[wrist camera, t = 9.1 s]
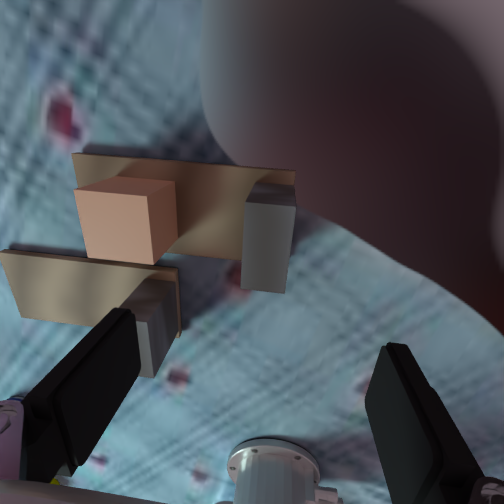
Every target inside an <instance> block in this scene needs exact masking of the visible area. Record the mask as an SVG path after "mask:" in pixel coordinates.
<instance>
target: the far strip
mask: <svg viewBox="0 0 504 504" xmlns="http://www.w3.org/2000/svg"><path fill="white" fill-rule="evenodd" d="M0 260H1V263H2V266H3V268H4V271H5V274H6V277H7V279H8V282H9V285H10V287H11V290H12V293H13V296H14V298H15V301H16V304H17V307H18V309H19V312H20V315H21V317H23V318H30V319H38V320H45V321H53V322H60V323H68V324H76V325H83V326H91V327H95V326H96V325H97V324H98V323H99V322H100V321H101V320H102V319H103V318H104V317H105V316H106V315H107V314H108V313H109V312H110V311H111V310H112V309H113V308H115V307H118V308H126V309H130V310H131V312H132V313H134V314H135V317H136V325H137V333H138V342H139V350H140V358H141V371H140V374H139V375H138V376H141V377H148V378H154V377H155V376H156V374H157V372H158V370H159V368H160V366H161V364H162V362H163V360H164V358H165V356H166V354H167V352H168V350H169V349H170V347H171V345H172V343H173V341H174V339H175V338H180V336H181V333H182V329H181V312H180V296H179V279H178V268H169V267H160V266H151V265H142V264H134V263H125V262H116V261H107V260H98V259H89V258H80V257H71V256H63V255H54V254H45V253H36V252H27V251H18V250H9V249H4V250H2V251H0Z"/></svg>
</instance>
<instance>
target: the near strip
mask: <svg viewBox="0 0 504 504" xmlns="http://www.w3.org/2000/svg"><path fill="white" fill-rule="evenodd" d="M71 154H72V159H73V164H74V169H75V174H76V179H77V184H78V188H80V187H83V186H86V185H89V184H93V183H96V182H99V181H102V180H105V179H108V178H111V177H114V176H120V177H131V178H142V179H154V180H165V181H175V193H176V211H177V228H178V239H177V240H176V241H175V242H174V244H173V245H172V246H171V247H170V248H169V249H168V250H167V251H166V253H175V254H184V255H194V256H203V257H212V258H221V259H230V260H240V261H242V268H241V287H240V289H248V290H257V291H266V292H274V293H283V294H285V288H286V280H287V273H288V265H289V258H290V250H291V243H292V235H293V228H294V220H295V213H296V199H295V189H294V182H295V174H296V171H295V170H285V169H273V168H260V167H248V166H236V165H224V164H212V163H200V162H188V161H175V160H163V159H151V158H139V157H127V156H114V155H102V154H90V153H71Z"/></svg>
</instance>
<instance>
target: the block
mask: <svg viewBox="0 0 504 504" xmlns="http://www.w3.org/2000/svg"><path fill="white" fill-rule="evenodd" d="M74 194H75V199H76V204H77V208H78V213H79V218H80V223H81V227H82V232H83V237H84V241H85V246H86V251H87V255H88V258H97V259H106V260H115V261H124V262H133V263H141V264H150V265H154V264H155V263H156V262H157V261H158V260H159V259H160V258H161V256H162V255H163V254H164V253H165V252H166V251H167V250H168V249H169V248H170V247H171V246H172V245H173V244H174V242H175V241H176V240H177V239H178V228H177V211H176V193H175V181H165V180H154V179H142V178H131V177H120V176H114V177H111V178H108V179H105V180H102V181H99V182H96V183H93V184H89V185H86V186H83V187H80V188H77V189H74Z"/></svg>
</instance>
